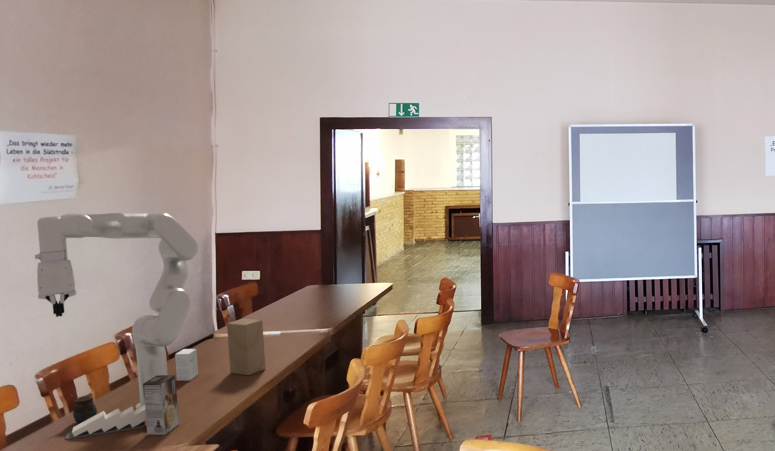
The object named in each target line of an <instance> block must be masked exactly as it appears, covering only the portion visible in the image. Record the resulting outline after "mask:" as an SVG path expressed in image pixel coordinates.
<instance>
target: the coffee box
mask: <svg viewBox="0 0 775 451" xmlns="http://www.w3.org/2000/svg"><path fill="white" fill-rule="evenodd" d="M176 382H177V379H176V375H175V374H171V375H169V374H168V375H157V376H155V377H154V378H152V379H150V380H149V381H147V382H145V383H144V384H143V390H144V401H145V412H146V423H147V426H146V434H147V435H154V436H155V435H157V436H158V435H159V436H160V435H161V436H162V435H163V436H165V435H167V434H169V433H170V432H171V431H173V430H174V428H177V426H179V425H180V418H179V417H180V416H179V406H178V393H177V384H176Z"/></svg>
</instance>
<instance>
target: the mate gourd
mask: <svg viewBox="0 0 775 451" xmlns="http://www.w3.org/2000/svg"><path fill="white" fill-rule="evenodd" d="M70 396H71V397H72V398H73V399H74V409H73V410H72V411H73V412H72V415H73V419H74V421H75V423H77V424H80V423H82V422H84V421H86V420H88V419H89V418H91V417H93V416H95V415H97V414H98V409H97V406H96V405H95V403H94V396H92V395H83V396H82V395H80V396H79V397H75V396H74V395H72V394H70Z"/></svg>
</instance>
